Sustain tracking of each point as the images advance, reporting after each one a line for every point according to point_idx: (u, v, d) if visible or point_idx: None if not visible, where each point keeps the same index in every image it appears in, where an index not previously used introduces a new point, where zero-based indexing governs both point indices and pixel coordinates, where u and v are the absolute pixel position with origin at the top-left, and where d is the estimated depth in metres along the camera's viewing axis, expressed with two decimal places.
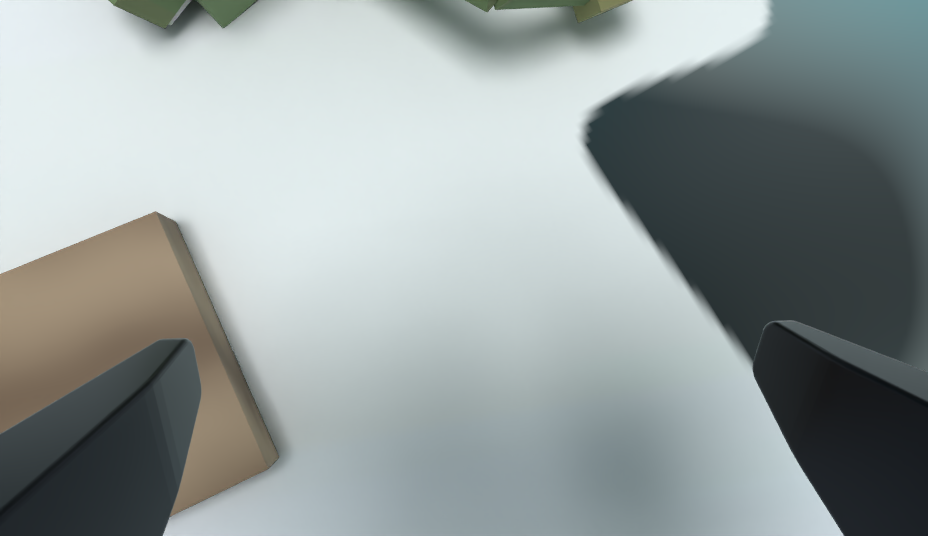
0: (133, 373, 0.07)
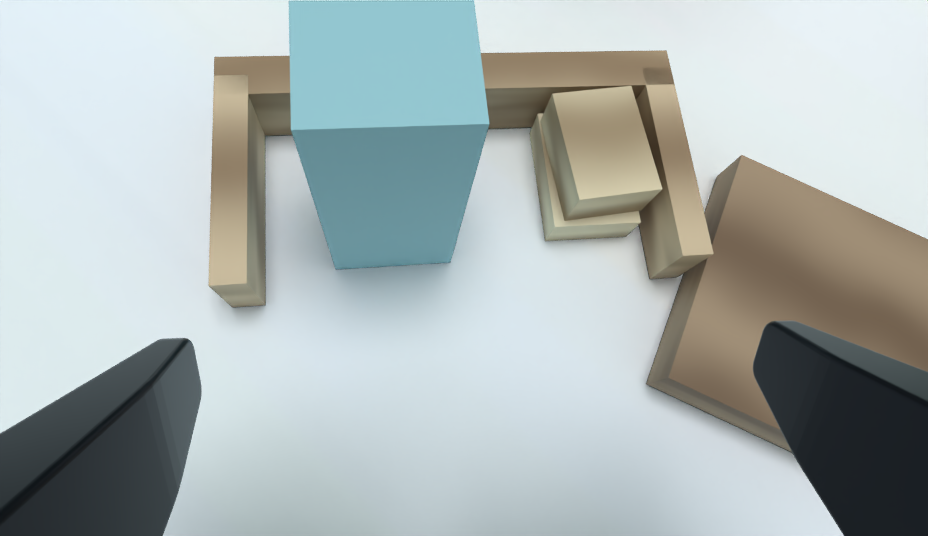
0: (133, 373, 0.07)
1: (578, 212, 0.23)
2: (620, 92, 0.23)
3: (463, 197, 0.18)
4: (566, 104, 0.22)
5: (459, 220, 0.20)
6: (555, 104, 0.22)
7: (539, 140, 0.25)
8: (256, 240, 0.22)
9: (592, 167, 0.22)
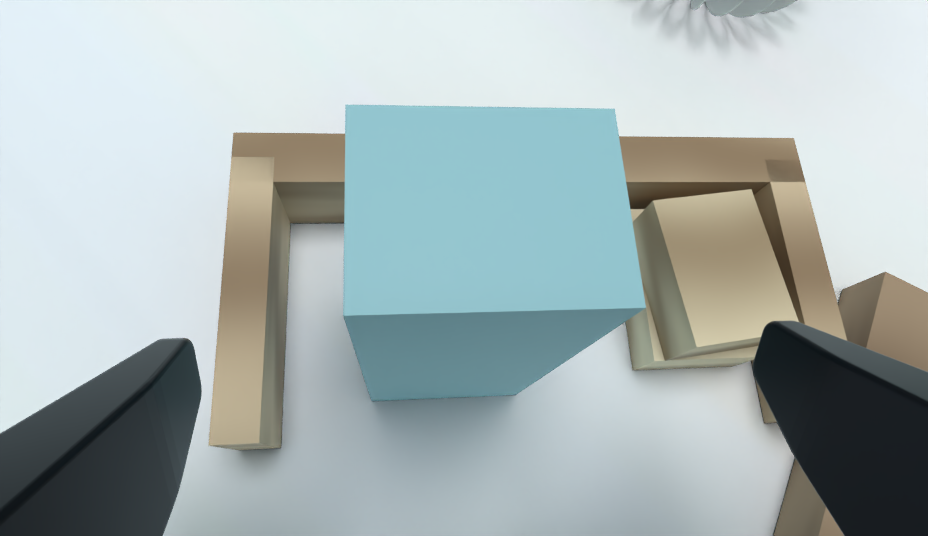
0: (133, 373, 0.07)
1: (686, 354, 0.17)
2: (738, 198, 0.18)
3: (563, 358, 0.13)
4: (671, 215, 0.17)
5: (546, 371, 0.15)
6: (657, 215, 0.17)
7: None
8: (274, 370, 0.17)
9: (710, 302, 0.17)
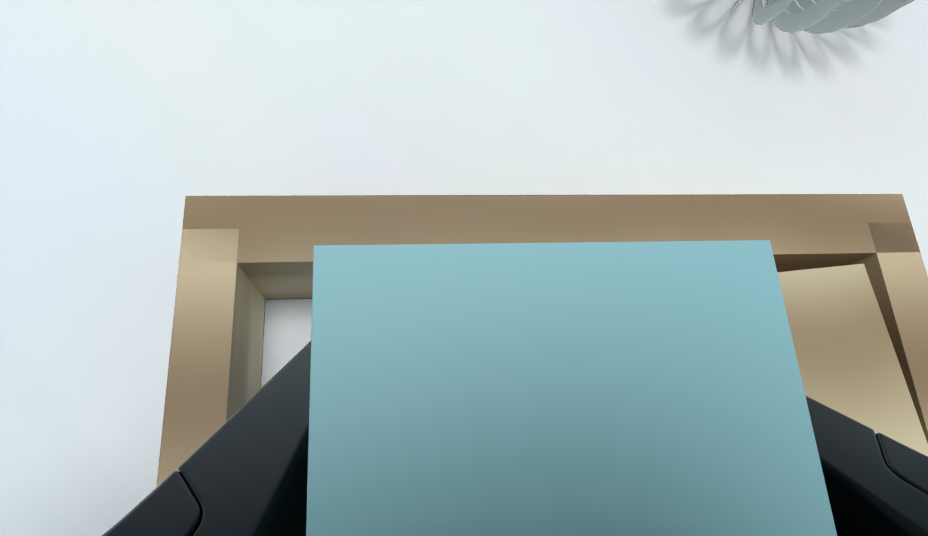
0: None
1: None
2: (847, 275, 0.14)
3: None
4: None
5: None
6: None
7: None
8: None
9: None
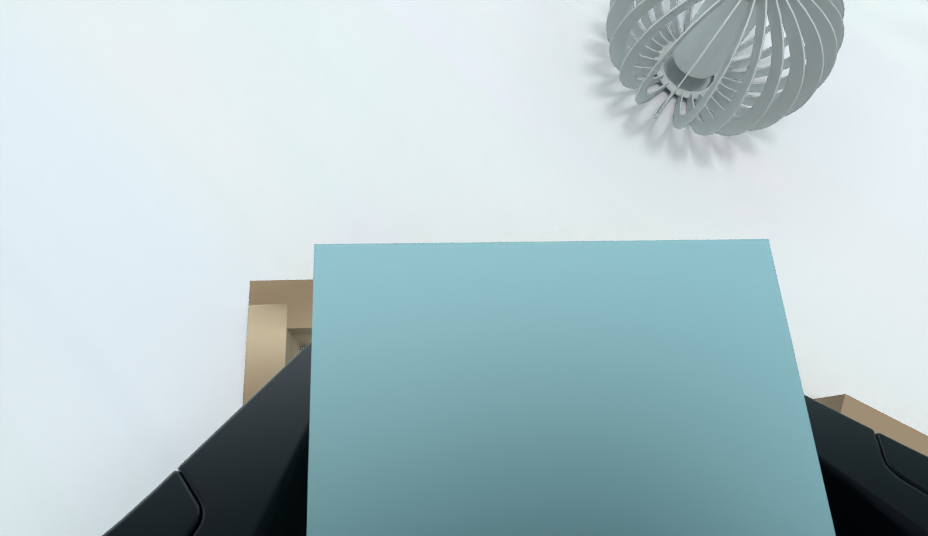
0: None
1: None
2: None
3: None
4: None
5: None
6: None
7: None
8: None
9: None
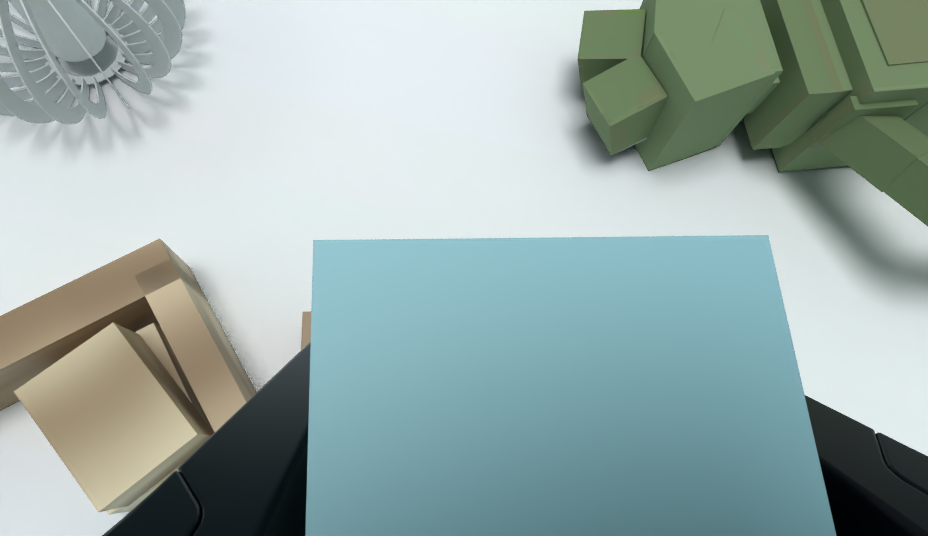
0: None
1: (129, 499, 0.18)
2: (102, 339, 0.18)
3: None
4: (37, 395, 0.17)
5: None
6: (23, 403, 0.17)
7: None
8: None
9: (100, 459, 0.17)
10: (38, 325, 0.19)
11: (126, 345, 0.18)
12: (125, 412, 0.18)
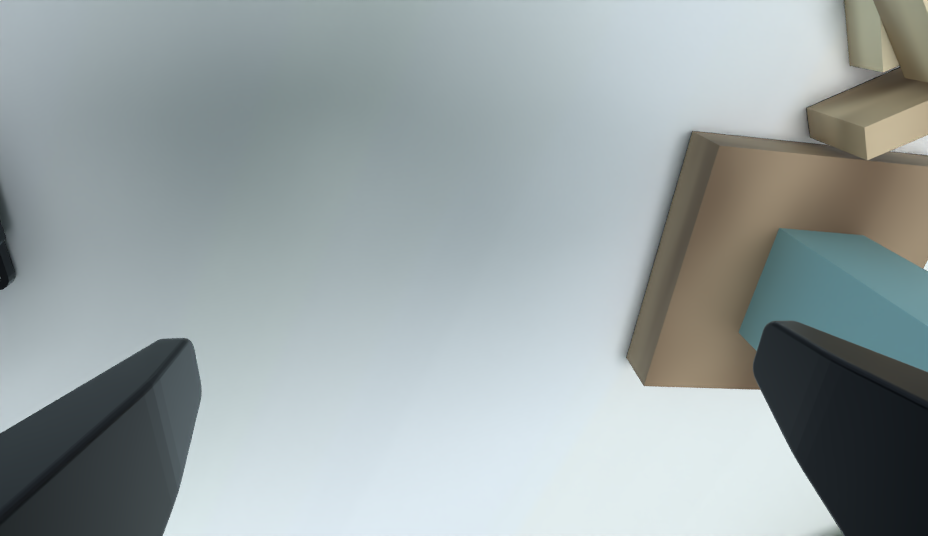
0: (133, 373, 0.07)
1: (893, 8, 0.18)
2: None
3: None
4: None
5: None
6: None
7: None
8: None
9: None
10: None
11: None
12: None
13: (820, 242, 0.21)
